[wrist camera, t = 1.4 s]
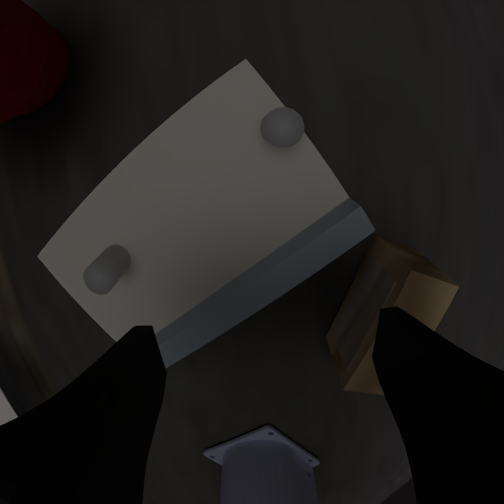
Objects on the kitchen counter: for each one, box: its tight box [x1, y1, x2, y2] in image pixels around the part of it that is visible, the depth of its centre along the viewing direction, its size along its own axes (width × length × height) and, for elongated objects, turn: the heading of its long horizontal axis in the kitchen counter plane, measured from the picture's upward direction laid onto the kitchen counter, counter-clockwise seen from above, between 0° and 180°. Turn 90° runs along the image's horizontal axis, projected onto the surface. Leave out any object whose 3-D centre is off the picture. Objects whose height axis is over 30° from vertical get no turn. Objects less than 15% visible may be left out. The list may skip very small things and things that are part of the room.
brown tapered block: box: [326, 234, 459, 395], centre depth 18 cm, size 4×8×6 cm, turn 163°
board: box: [38, 59, 375, 368], centre depth 17 cm, size 11×18×4 cm, turn 128°
